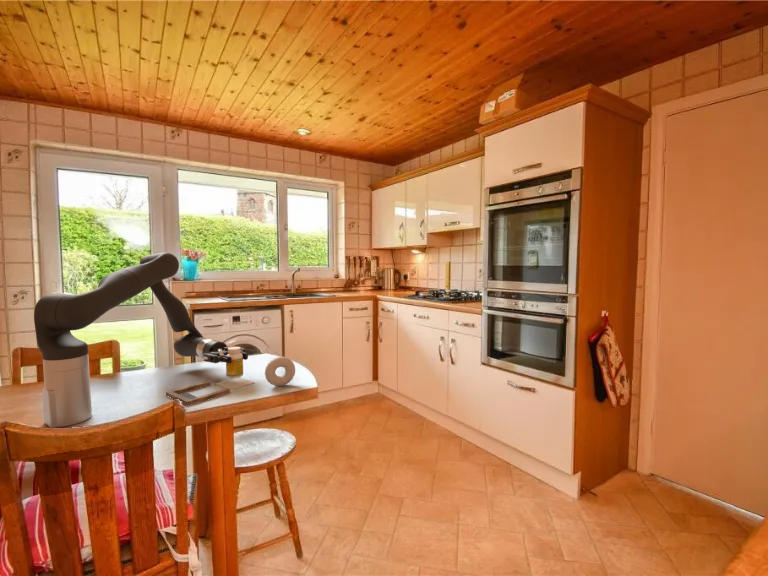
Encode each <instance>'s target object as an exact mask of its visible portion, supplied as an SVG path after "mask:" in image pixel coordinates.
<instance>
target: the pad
mask: <svg viewBox="0 0 768 576" xmlns="http://www.w3.org/2000/svg"><path fill="white" fill-rule="evenodd" d="M249 384H250V385H252V384H255V381H253V380H251V379H250V380H249V379H246V378H244V377H242V376H241V377H238V378H229V379H227V380H223V381H220V382H216V383H215V385H216V386H218V387H221V388H223V389H227V388H228V389H230V391H231V390H232V389H233V390H237V389H239V387H240V388H242V387H243V388H244V387H246V386H249ZM233 390H232V391H233Z"/></svg>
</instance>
